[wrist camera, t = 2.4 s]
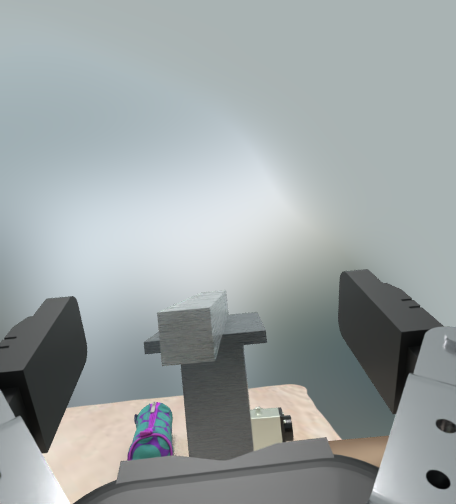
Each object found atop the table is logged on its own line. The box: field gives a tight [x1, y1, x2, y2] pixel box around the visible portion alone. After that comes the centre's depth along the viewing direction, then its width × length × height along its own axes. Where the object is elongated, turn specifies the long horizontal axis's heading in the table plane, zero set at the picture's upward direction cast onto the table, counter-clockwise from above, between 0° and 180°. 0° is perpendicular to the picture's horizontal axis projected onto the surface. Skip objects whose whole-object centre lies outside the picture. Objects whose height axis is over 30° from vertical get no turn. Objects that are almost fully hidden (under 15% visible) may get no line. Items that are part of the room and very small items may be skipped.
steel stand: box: [144, 312, 267, 461], centre depth 39 cm, size 16×10×32 cm, turn 178°
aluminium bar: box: [157, 291, 229, 366], centre depth 35 cm, size 26×3×3 cm, turn 178°
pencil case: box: [128, 402, 173, 461], centre depth 83 cm, size 21×9×10 cm, turn 9°
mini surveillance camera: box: [250, 407, 293, 451], centre depth 73 cm, size 6×12×12 cm, turn 86°
